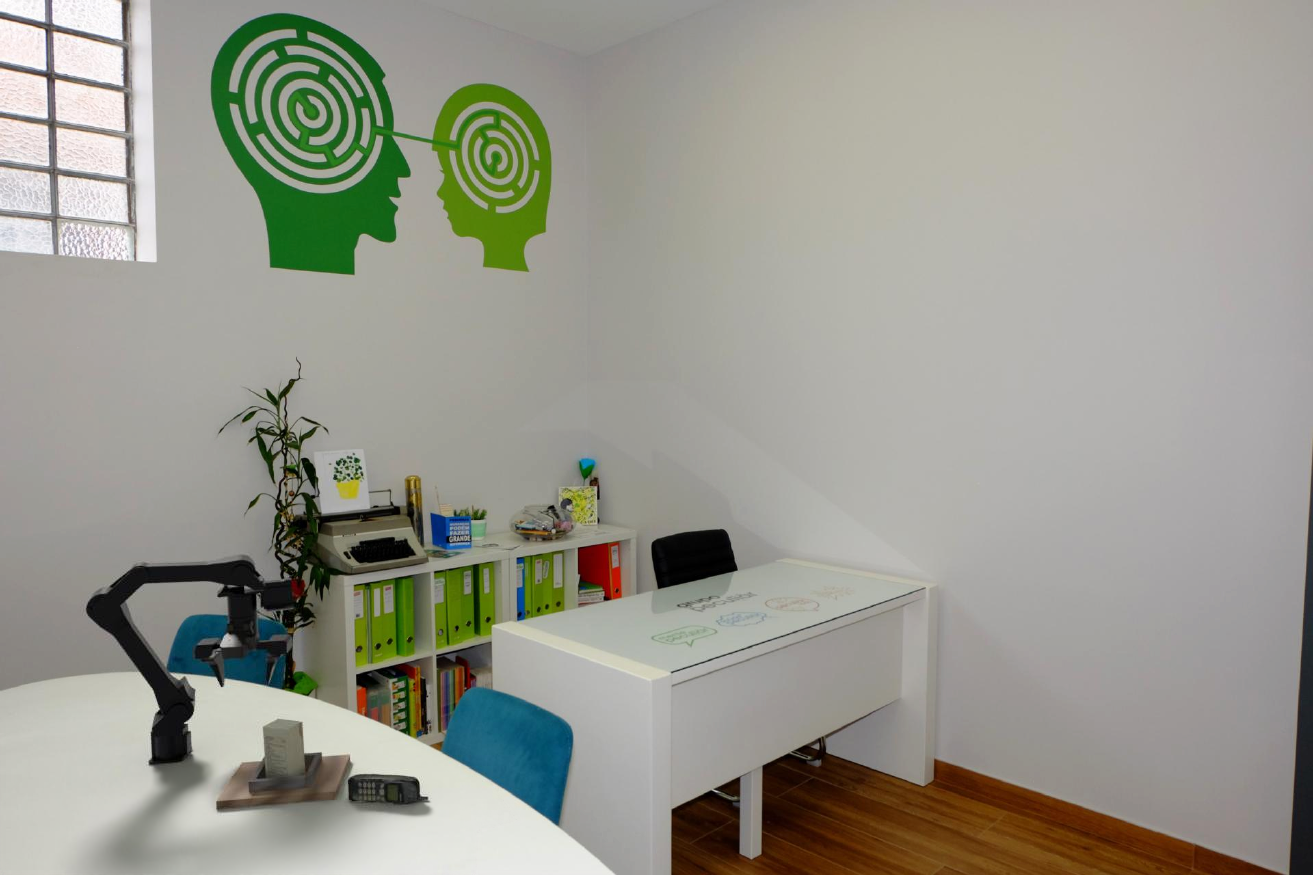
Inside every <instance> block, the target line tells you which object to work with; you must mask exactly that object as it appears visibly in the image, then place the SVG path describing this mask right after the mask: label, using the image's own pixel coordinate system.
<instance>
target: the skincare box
mask: <svg viewBox="0 0 1313 875" xmlns="http://www.w3.org/2000/svg"><path fill="white" fill-rule="evenodd" d="M303 726H304V725H303V721H299V720H292V719H284V718H282V719H281V718H277V719H275V720H273V721H271V722H269V723H267V724H266V725H263V726H262V734H263V737H262V738H263V750H264V751H263V752H264V756H265V771H266V778H277V777H290V776H303V775H306V774H307V772H305V757H304V753H305V743H304V742H305V740H304V727H303Z"/></svg>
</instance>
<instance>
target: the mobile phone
mask: <svg viewBox="0 0 1313 875" xmlns="http://www.w3.org/2000/svg"><path fill="white" fill-rule="evenodd" d="M347 793H348V797H347V798H348V801H350V802H353V801H362V802H361V803H375V802H380V803H379V804H387V803H393V804H392V805H403V804H404V803H405V804H409V803H414V802H416V801H428V800H429V796H422V795H421V784H420V781H419V779H418V778H417V777H415V776H412V775H411V776H409V775H404V774H403V775H402V774H401V775H400V774H382V773H381V774H379V773H360V774H355V775H352V776H350V777H349V778H348V779H347ZM364 801H365V802H364Z"/></svg>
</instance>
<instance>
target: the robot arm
mask: <svg viewBox="0 0 1313 875" xmlns="http://www.w3.org/2000/svg"><path fill="white" fill-rule="evenodd" d="M263 576H264V575H261V573H259V572H258V571H257V569H256V563H255V561H254V560H253V558H252V557H250V556H249V555H246V554H235V555H230V556H224V557H220V558H216V559H214V560H208V561H186V562H185V561H179V562H178V561H177V562H173V561H172V562H144V561H140V562H137V563H134V564H133V565H132V566H131V568H130V569H128V570H127V572H125V573H124V574H122V575H121V576H120V577H118V578H117V579H116V580H115V581H114V582H113V583H111V584H110V585H109V586H103V587H101V588H99V589H97V590H95V591H94V592H93V594H92V595H91V597H90V598H89V600H88V602H87V604H86V607H85V612H86V614H87V616H88V617H89V619H90V620H92V621H93V622H94V623H95V624H96V625H97V626H98V627H99V628H100V629H102V630H104V631H105V632H106V633H108V634H109V635H111V636H112V637H113V638H114V639H115V640H116V642H117V643H118V645H119V646H120V647H121V649H122V650H123V651H124V653H125V655H127V656H128V658H129V659H130V661H131V662H132V663H133V665H134V667H136V669H137V670H138V672H139V673H140V674H141V676H142V677H143V678H144V680H145V681H146V683H147V684H148V685H149V687H150V688H151V689H152V691H153V694H154V697H155V701H156V703H157V705H158V708H159V709H158V710H157V711H156V712H155V713H154V716H153V720H152V725H151V731H150V748H151V749H150V750H151V757H150V759H149V760H148V764H150V765H151V764H161V763H163V764H164V763H177V762H182V761H184V759H185V758H186V757H187V756H188V754H190V752H191V751H192V750H193V746H192V743H193V742H192V731H191V730H189V723H188V721H189V720H191V719H192V717H193V715H194V713H195V706H196V688H194V687H192V686H191V685H190V683H189V681H188V679H187V676H183V677H181V678H180V679H178V678H177V677H175V676H173V675H172V674H171V673H170V671H169V669H167V667H166V666H165V664H164V663H163V661H162V660H161V659H160V657H159V656H158V654H157V653H156V652H155V650H154V649H153V648H152V646H151V645H150V643H149V642H148V641H147V639H146V638H145V636H143V634H142V632H141V631H140V630H139V628H138V627H137V626H136V624H135V623H134V621H133V618H132V614H131V612H130V609H129V606H128V604H127V601H128V599H129V598H130V597H132V596H133V594H135V593H136V592H137V591H138V589H140V588H142V586H143V585H145V584H146V585H147V584H175V583H194V582H195V583H197V582H201V583H202V582H208V583H209V582H210V583H213V584H214V583H215V584H219V585H222V587H221V588H220V589H219V590H218V591H217V594H216V595H217V598H226V603H227V605H226V606H227V623H226V630H225V633H224V636H223V638H222V640H221V638H220V637H212V638H203V639H201V640H200V641H199V642H198V643H197V644H196V645H195V646H194V647H193V650H192V658H193V659H194V660H200V662H201V663H206V664H207V665H209V667H210V669H211V670H212V671H213V673H214V676H215V678H216V680H217V682H218V684H219V686H220V688H224V686H225V679H226V678H225V677H226V676H225V664H224V661H225V660H229V659H238V660H241V659H245V658H247V656H248V653H249V652H251V651H257V650H258V651H259V650H260V651H261V650H266V652H267V655H266V656H265V659H266V671H265V682H266V685H269V684H270V683H271V679H272V677H273V674H274V671H275V667H276V665H277V662H278V660H279V658H281V657H283V656H284V655H286V654H288V653H289V651H290V650H291V649H292V647H293V646H294V645H293V637H292V636H291V634H290V633H288V634H287V633H286V634H272V636H271V637H270V638H269V640H268V639H267V640H266V639H265V640H259V639H260V633H259V626H258V620H259V614H258V601H257V599H258V598H257V594H259V602H260V603H259V604H260V609H263V610H265V612H266V613H270V612H279V611H287V610H294V609H295V595H294V594H295V593H294V591H293V579H292V577H286V578H282V579H275V580H274V579H273V580H266V579H265V577H263ZM245 587H247V588H245Z"/></svg>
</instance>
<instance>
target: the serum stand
mask: <svg viewBox="0 0 1313 875" xmlns="http://www.w3.org/2000/svg"><path fill="white" fill-rule="evenodd" d="M304 757H305V773H306V775H303V776H290V777H277V778H266V771H265V755H264V756H263V758H262V759H261V760H259V761H256V760H255V761H246V762H245V761H243V762H241V763H240V764H239V766H238V767H237V769H236V770H235V772H234V773H233V775H232V776H231V777H230V779H229V781H228V783H227V784H226V786H225V787H224V789H223V790H222V792H221V793H220V794H219V796H218V798H217V799H216V801H215V804H216V808H215V809H216V810H222V809H230V808H232V809H233V808H243V807H244V808H246V807H256V806H257V807H258V806H269V805H270V806H271V805H281V804H291V803H306V802H316V801H329V800H336V799H337V797H338V794H339V790H340V789H341V786H342V783H343V781H344V779H343V778H345V776H346V774H347V771H348V768H349V766H350V763H351V754H348V753H347V754H336V755H323V752H322V751H319V752H308V753H307V752H306V753H305V752H304Z"/></svg>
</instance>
